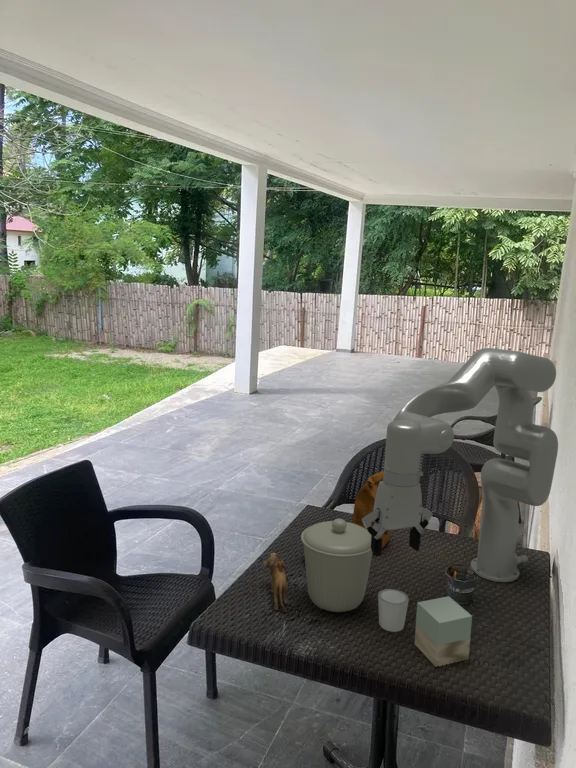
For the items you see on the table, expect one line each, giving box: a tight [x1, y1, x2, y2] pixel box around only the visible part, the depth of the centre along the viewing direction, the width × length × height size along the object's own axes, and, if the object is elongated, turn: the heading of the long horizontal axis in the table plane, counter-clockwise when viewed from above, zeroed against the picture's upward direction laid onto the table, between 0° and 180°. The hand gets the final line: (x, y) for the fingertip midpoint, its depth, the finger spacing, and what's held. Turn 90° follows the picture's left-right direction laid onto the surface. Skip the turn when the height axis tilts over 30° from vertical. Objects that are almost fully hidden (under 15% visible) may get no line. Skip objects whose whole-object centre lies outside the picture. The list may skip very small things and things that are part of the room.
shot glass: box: [377, 588, 410, 633], centre depth 131 cm, size 7×7×7 cm
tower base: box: [414, 623, 471, 668], centre depth 122 cm, size 8×8×5 cm
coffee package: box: [352, 470, 392, 554], centre depth 169 cm, size 10×12×22 cm
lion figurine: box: [262, 552, 290, 613], centre depth 141 cm, size 15×5×9 cm, turn 16°
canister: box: [300, 518, 374, 613], centre depth 139 cm, size 18×18×21 cm
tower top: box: [415, 596, 473, 646], centre depth 121 cm, size 8×8×5 cm
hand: (395, 550), depth 128 cm, fingers open, 9 cm apart
